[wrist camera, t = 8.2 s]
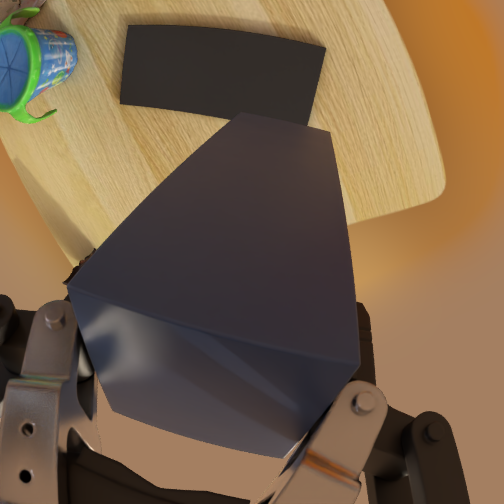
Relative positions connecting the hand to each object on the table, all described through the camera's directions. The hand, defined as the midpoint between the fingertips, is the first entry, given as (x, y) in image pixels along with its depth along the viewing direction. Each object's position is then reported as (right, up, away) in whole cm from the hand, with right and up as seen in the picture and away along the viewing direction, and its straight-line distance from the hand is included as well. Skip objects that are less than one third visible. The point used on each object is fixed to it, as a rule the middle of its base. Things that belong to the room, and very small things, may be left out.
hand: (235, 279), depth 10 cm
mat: (-4, +20, +20) cm, 28 cm away
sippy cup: (-25, +26, +20) cm, 41 cm away
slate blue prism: (+2, +6, +9) cm, 11 cm away
